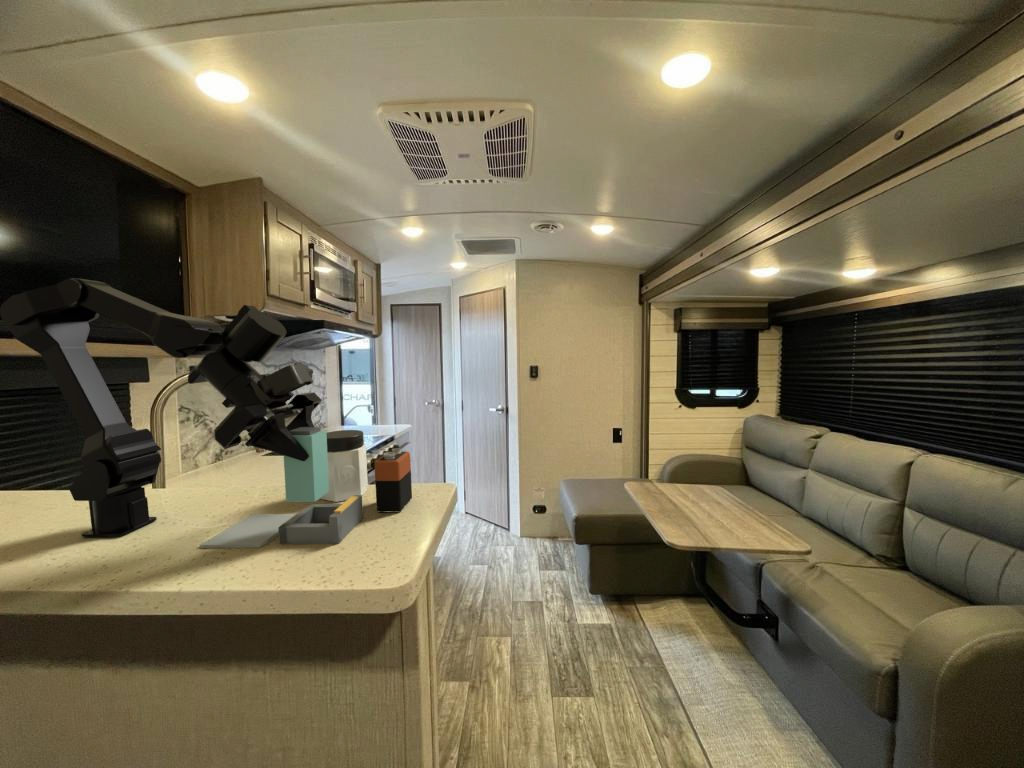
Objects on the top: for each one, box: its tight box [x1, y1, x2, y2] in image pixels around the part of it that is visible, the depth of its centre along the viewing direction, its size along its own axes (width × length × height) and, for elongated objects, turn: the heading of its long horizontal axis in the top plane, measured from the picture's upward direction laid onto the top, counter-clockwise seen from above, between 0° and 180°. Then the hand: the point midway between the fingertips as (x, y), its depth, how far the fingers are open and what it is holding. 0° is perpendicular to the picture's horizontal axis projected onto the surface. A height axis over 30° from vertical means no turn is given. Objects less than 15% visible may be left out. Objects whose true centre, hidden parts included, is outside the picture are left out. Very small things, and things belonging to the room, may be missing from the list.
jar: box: [320, 429, 369, 503], centre depth 79 cm, size 9×8×12 cm
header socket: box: [278, 495, 364, 545], centre depth 63 cm, size 9×9×4 cm
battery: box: [373, 447, 413, 512], centre depth 73 cm, size 4×7×10 cm, turn 176°
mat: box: [199, 513, 297, 549], centre depth 64 cm, size 9×11×1 cm
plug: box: [283, 426, 329, 503], centre depth 63 cm, size 4×4×11 cm
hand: (314, 454), depth 62 cm, fingers closed on plug, 4 cm apart
